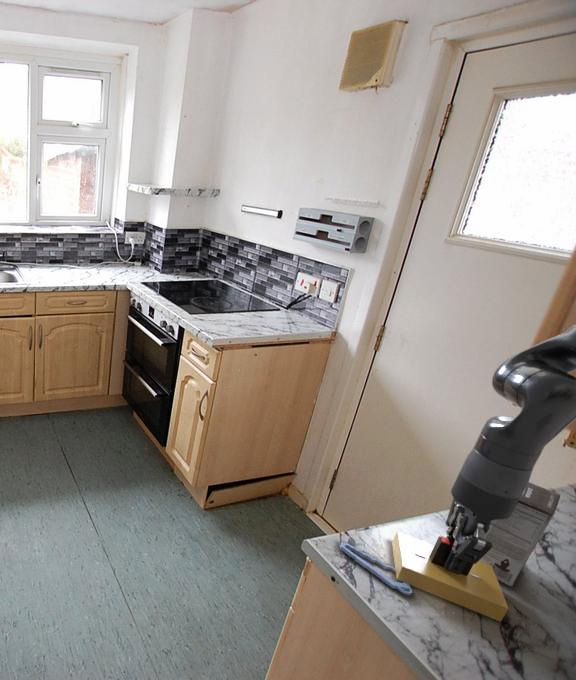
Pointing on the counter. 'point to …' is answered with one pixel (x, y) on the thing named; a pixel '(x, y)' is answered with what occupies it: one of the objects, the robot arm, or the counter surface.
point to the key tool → (396, 585)
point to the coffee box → (519, 532)
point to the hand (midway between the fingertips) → (449, 562)
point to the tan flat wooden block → (448, 578)
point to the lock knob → (446, 554)
